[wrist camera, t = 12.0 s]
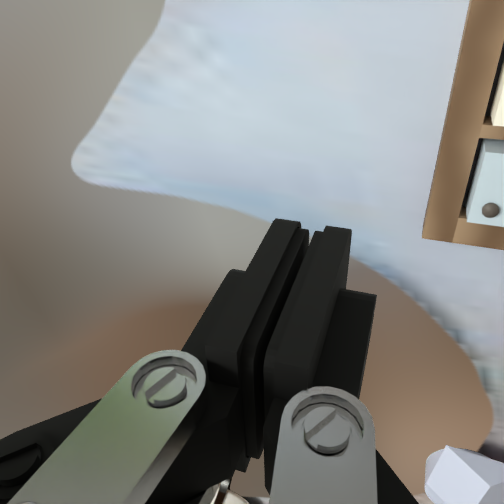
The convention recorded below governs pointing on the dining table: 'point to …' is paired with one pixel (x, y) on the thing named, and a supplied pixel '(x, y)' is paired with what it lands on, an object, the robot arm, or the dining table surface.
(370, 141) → the dining table surface
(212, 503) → the coffee press
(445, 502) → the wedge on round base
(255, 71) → the dining table surface
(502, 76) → the cream drawer
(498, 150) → the pale blue drawer
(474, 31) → the wooden compartment tray
